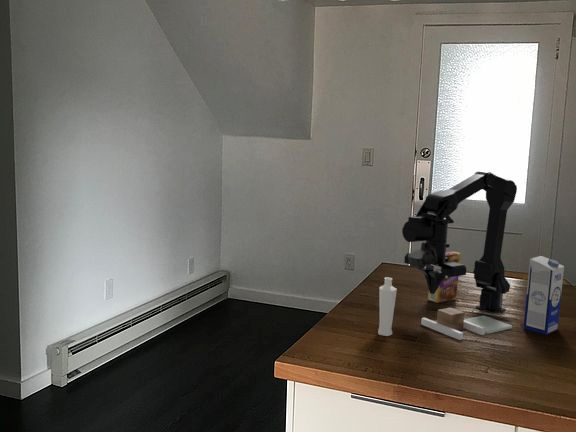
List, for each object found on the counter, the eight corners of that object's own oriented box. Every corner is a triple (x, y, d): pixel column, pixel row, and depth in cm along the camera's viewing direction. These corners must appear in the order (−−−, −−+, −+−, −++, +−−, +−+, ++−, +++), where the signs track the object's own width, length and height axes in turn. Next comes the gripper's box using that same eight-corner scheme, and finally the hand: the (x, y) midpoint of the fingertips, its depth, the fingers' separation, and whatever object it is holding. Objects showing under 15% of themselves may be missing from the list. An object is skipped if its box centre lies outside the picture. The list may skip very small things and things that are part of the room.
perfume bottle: (394, 332, 173) (398, 277, 170) (392, 337, 168) (395, 281, 166) (377, 329, 174) (381, 275, 172) (374, 334, 170) (378, 279, 168)
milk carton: (534, 323, 185) (541, 254, 182) (557, 329, 180) (565, 259, 177) (522, 328, 180) (529, 258, 177) (546, 334, 175) (554, 262, 172)
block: (449, 324, 181) (450, 307, 180) (462, 330, 177) (464, 312, 176) (436, 327, 178) (437, 309, 177) (450, 332, 174) (451, 314, 173)
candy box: (437, 303, 201) (441, 255, 198) (427, 300, 204) (430, 252, 202) (457, 300, 206) (461, 253, 203) (447, 296, 209) (450, 250, 207)
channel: (445, 319, 185) (446, 313, 185) (484, 334, 173) (485, 328, 173) (421, 324, 180) (421, 318, 179) (459, 340, 168) (460, 333, 168)
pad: (483, 318, 188) (483, 315, 188) (511, 328, 179) (512, 325, 179) (459, 323, 182) (459, 320, 182) (487, 333, 174) (487, 330, 174)
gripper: (391, 235, 183) (388, 289, 186) (440, 248, 168) (435, 306, 170) (420, 232, 189) (416, 284, 192) (469, 244, 174) (465, 301, 176)
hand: (432, 293), depth 182 cm, fingers closed
